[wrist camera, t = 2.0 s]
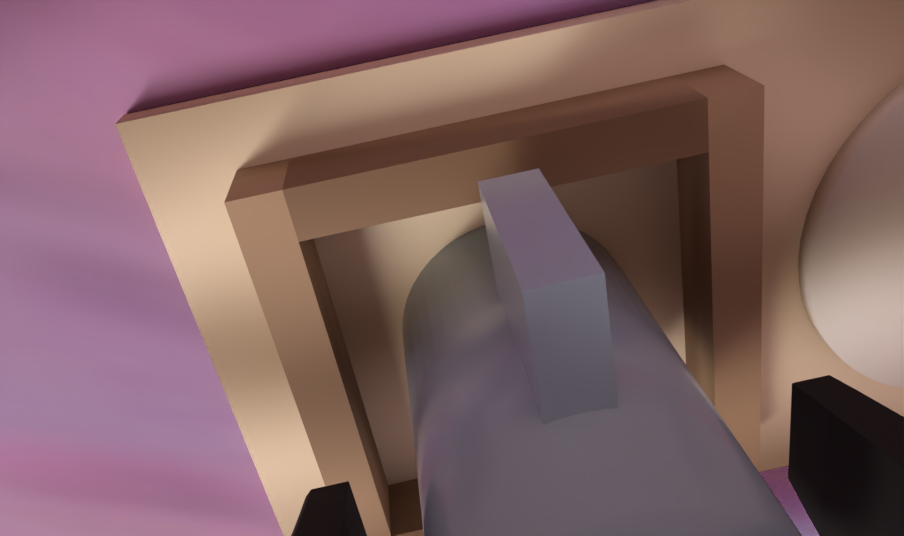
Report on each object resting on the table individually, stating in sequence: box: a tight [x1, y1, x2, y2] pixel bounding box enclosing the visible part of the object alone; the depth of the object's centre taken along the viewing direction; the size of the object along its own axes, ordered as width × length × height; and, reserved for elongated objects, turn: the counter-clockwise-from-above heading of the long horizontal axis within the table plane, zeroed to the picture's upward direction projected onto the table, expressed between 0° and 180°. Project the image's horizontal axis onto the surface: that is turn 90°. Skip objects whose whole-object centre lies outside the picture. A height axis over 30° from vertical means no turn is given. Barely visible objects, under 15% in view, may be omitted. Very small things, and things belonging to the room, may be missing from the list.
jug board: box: [115, 0, 904, 536], centre depth 16 cm, size 12×22×2 cm, turn 101°
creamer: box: [402, 168, 802, 536], centre depth 13 cm, size 7×5×8 cm
